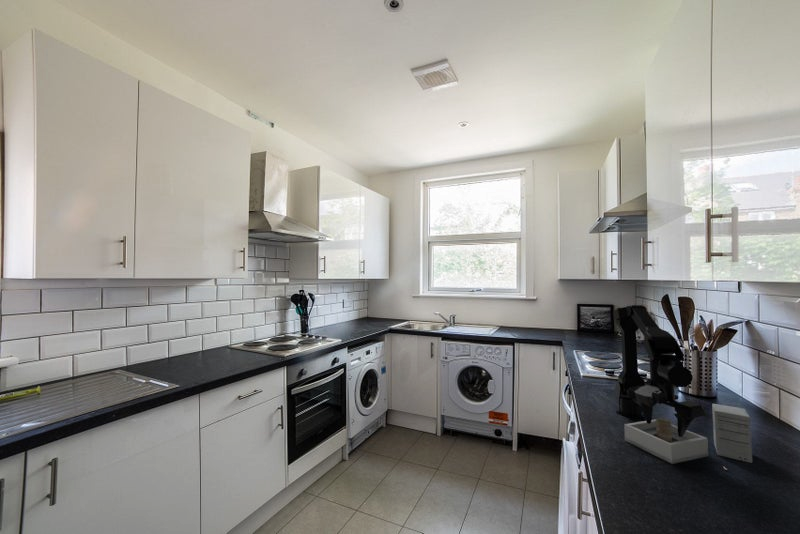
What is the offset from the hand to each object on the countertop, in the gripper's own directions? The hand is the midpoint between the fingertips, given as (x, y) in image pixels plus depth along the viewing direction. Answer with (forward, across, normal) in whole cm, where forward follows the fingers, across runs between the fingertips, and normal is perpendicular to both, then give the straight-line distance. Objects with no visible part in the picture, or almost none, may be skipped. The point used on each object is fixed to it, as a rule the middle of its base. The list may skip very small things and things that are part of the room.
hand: (664, 429), depth 100 cm
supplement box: (+6, +8, +15) cm, 18 cm away
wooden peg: (+4, 0, 0) cm, 4 cm away
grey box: (+5, 0, 0) cm, 5 cm away
